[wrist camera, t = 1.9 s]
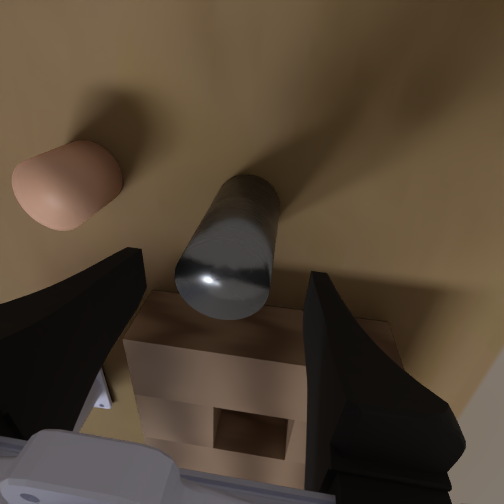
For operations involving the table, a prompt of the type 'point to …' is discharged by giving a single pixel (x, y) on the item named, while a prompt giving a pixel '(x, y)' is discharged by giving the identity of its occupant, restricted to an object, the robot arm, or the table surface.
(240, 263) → the dark metallic cylinder
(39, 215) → the pinkish tan rounded piece
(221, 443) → the hole block
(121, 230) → the table surface
